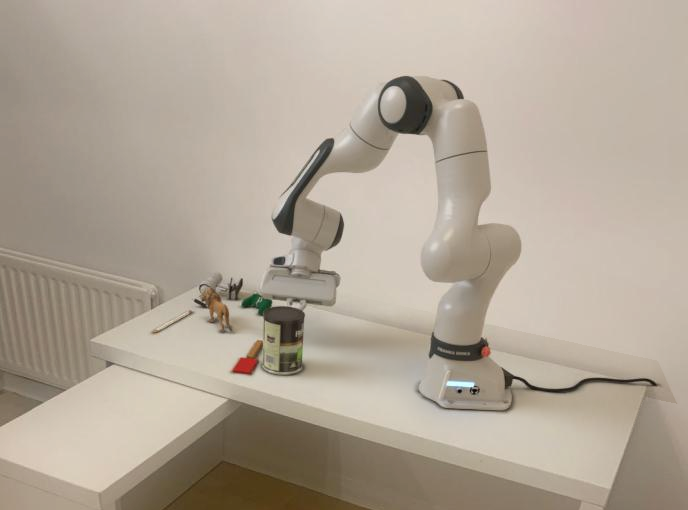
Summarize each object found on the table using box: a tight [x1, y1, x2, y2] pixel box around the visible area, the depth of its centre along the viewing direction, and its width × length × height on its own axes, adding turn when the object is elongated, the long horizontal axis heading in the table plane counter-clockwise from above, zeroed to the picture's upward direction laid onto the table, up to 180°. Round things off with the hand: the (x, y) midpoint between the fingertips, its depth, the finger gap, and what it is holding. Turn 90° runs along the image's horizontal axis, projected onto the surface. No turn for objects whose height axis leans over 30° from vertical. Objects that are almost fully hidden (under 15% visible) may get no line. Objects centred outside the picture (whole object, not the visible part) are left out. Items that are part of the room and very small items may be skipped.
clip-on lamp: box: [191, 271, 244, 308], centre depth 226 cm, size 12×6×18 cm
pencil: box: [153, 310, 192, 334], centre depth 211 cm, size 1×19×1 cm, turn 154°
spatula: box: [232, 339, 263, 375], centre depth 194 cm, size 4×19×1 cm, turn 169°
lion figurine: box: [198, 287, 234, 333], centre depth 209 cm, size 15×5×9 cm, turn 37°
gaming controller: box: [240, 290, 273, 316], centre depth 222 cm, size 9×4×6 cm
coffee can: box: [261, 305, 306, 376], centre depth 187 cm, size 10×10×14 cm
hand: (293, 316), depth 196 cm, fingers closed
